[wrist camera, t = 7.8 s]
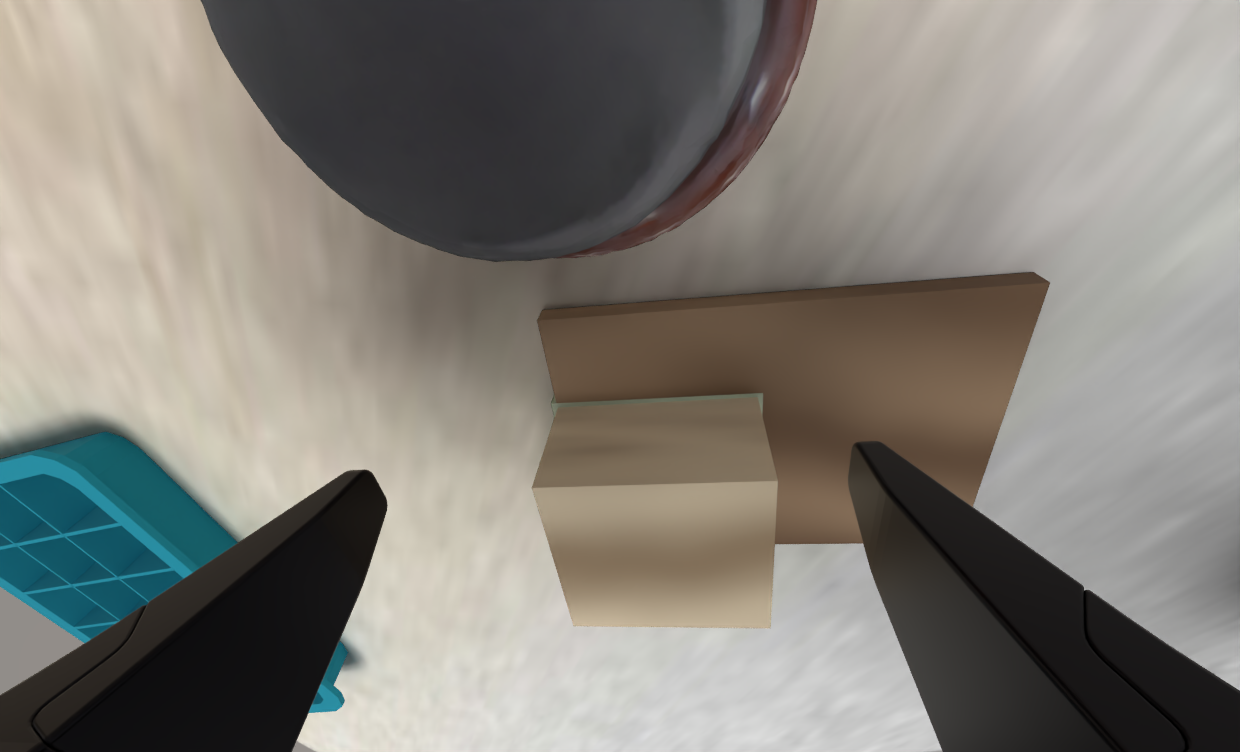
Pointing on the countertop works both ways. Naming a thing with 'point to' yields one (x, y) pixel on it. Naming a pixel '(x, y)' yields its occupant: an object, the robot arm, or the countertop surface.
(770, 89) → the supplement bottle
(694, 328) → the board
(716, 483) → the beech block
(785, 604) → the countertop surface
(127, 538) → the ice cube tray
